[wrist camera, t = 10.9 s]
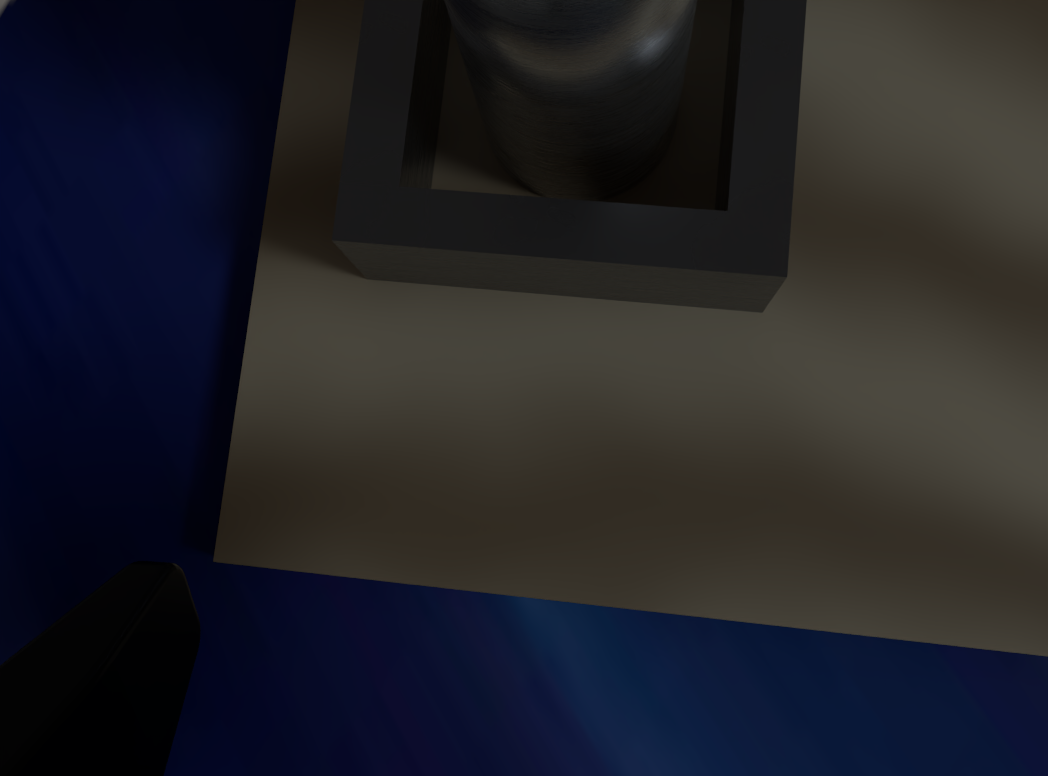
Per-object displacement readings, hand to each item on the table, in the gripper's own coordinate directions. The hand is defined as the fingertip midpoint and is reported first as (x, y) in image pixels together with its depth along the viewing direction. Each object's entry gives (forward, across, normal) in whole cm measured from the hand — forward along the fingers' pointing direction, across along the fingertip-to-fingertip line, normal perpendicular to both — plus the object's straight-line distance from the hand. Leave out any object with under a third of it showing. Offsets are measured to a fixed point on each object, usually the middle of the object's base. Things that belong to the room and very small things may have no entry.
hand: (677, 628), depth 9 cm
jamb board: (+15, -4, +5) cm, 16 cm away
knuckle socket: (+16, +2, +2) cm, 16 cm away
